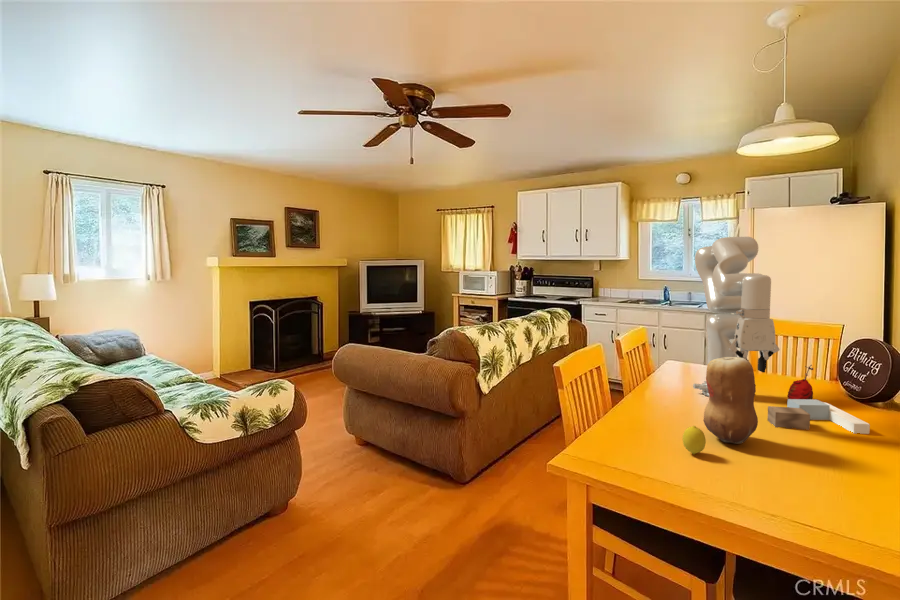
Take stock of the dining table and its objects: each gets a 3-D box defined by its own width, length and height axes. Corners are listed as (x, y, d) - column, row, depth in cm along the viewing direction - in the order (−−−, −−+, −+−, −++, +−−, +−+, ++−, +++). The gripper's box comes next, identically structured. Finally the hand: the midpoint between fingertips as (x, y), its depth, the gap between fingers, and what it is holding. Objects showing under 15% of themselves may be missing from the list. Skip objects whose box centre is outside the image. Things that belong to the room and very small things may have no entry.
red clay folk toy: (795, 399, 162) (797, 359, 161) (817, 405, 156) (819, 363, 155) (783, 403, 159) (785, 362, 158) (805, 408, 153) (807, 366, 151)
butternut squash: (699, 430, 137) (701, 351, 134) (749, 435, 132) (752, 353, 130) (708, 448, 124) (711, 361, 121) (765, 454, 119) (768, 364, 117)
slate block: (798, 419, 143) (799, 405, 143) (786, 413, 149) (787, 399, 149) (828, 420, 142) (829, 405, 142) (815, 413, 148) (816, 399, 148)
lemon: (702, 451, 122) (703, 423, 121) (707, 459, 117) (708, 430, 116) (680, 448, 124) (681, 421, 123) (684, 457, 119) (684, 428, 118)
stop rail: (853, 433, 131) (854, 423, 131) (812, 410, 151) (812, 402, 151) (869, 434, 130) (869, 424, 130) (825, 411, 150) (826, 402, 150)
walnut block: (775, 427, 138) (775, 412, 137) (767, 421, 143) (768, 406, 143) (809, 430, 135) (810, 414, 134) (800, 423, 141) (801, 408, 140)
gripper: (730, 315, 136) (729, 373, 137) (792, 315, 133) (789, 375, 134) (720, 312, 143) (719, 367, 145) (778, 312, 140) (776, 368, 142)
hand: (753, 370), depth 139 cm, fingers open, 4 cm apart
